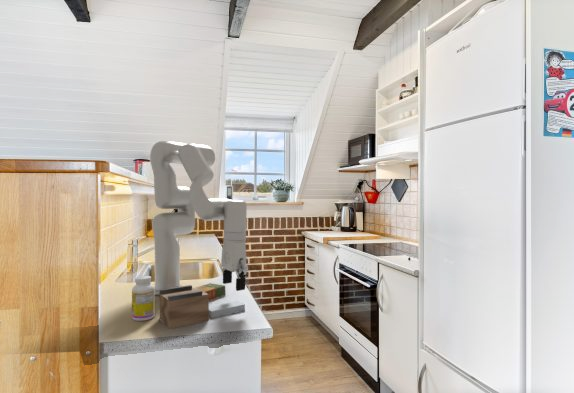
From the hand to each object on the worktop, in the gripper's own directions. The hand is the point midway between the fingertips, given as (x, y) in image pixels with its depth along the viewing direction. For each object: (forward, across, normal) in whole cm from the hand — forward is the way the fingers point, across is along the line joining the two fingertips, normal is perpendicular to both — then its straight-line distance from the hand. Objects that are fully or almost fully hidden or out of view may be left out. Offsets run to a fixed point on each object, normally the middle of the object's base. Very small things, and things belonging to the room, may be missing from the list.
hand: (233, 286), depth 121 cm
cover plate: (+8, +1, -4) cm, 9 cm away
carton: (+9, -17, -4) cm, 20 cm away
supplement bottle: (+8, -8, -27) cm, 30 cm away
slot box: (+8, +1, -18) cm, 19 cm away
